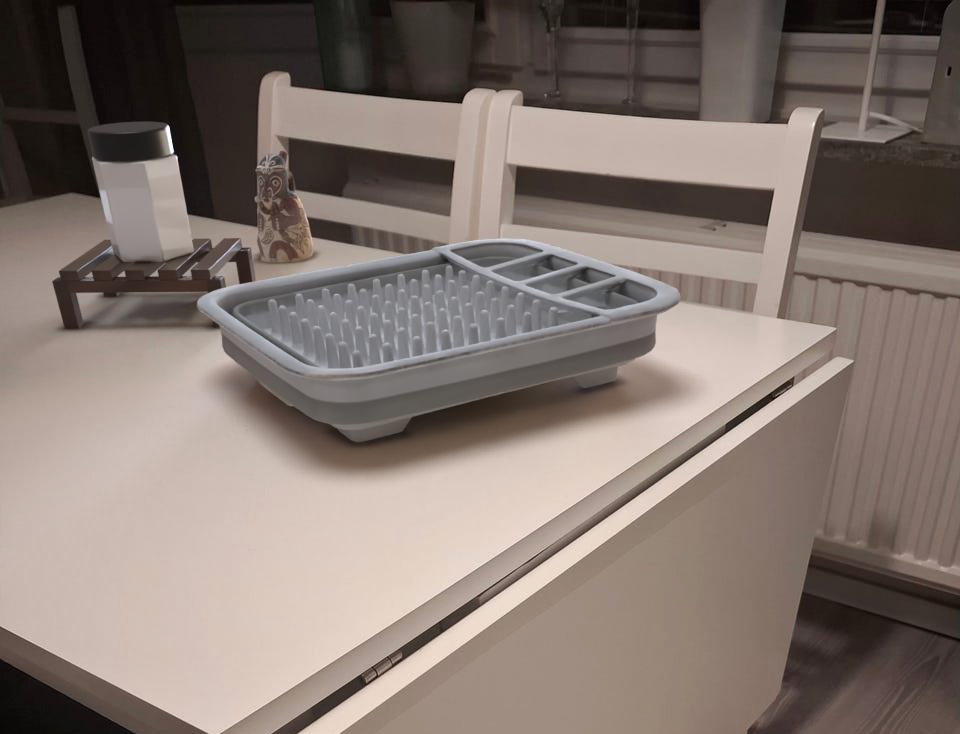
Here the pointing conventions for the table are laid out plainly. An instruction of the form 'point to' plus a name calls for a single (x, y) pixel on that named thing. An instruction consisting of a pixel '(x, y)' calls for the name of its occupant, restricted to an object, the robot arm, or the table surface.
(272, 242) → the figurine
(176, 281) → the rack
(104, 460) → the table surface
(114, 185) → the jar
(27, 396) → the table surface
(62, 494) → the table surface
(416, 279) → the dish rack
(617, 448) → the table surface
